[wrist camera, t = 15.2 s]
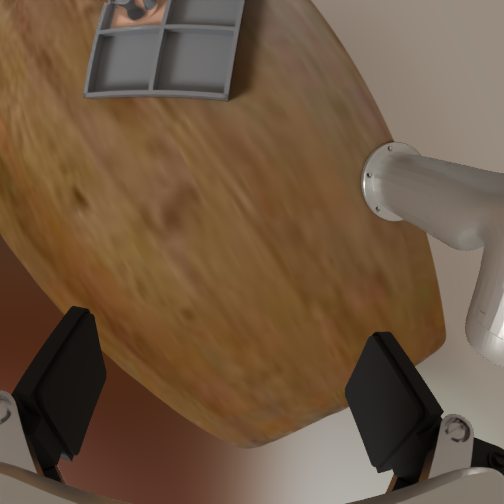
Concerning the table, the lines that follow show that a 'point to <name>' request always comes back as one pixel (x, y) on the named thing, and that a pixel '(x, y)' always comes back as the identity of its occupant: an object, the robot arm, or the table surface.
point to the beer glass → (134, 8)
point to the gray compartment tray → (166, 51)
